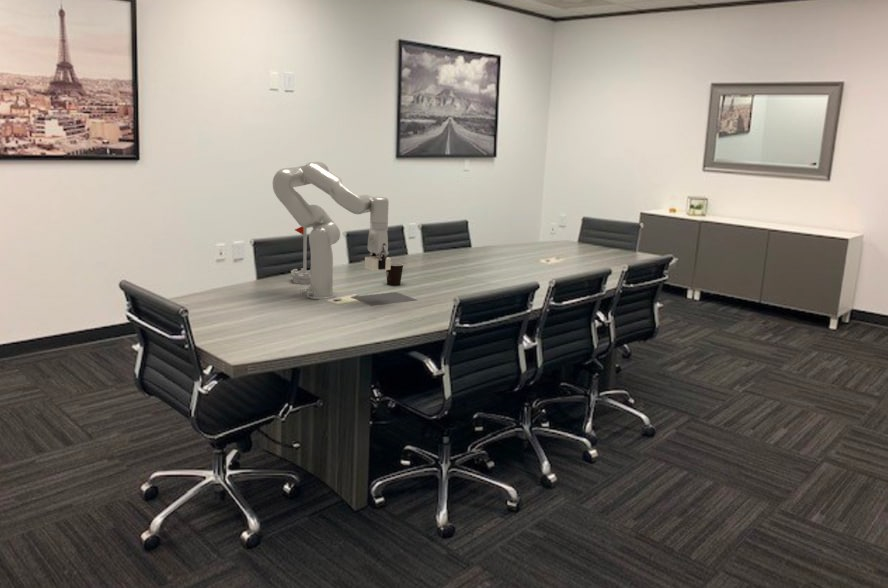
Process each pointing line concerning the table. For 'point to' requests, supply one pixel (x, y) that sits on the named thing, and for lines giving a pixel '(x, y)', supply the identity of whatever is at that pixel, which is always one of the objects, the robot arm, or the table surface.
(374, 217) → the robot arm
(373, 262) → the card box
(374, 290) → the table surface
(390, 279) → the coffee mug
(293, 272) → the flag stand
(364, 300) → the mat
